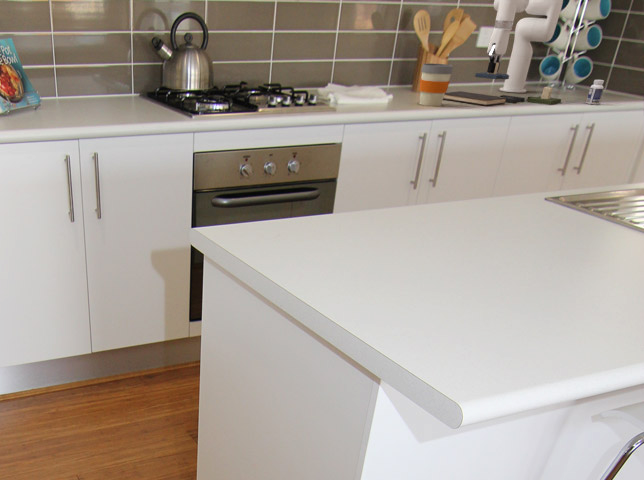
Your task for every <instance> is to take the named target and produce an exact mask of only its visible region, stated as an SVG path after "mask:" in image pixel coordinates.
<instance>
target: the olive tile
mask: <svg viewBox="0 0 644 480" xmlns="http://www.w3.org/2000/svg"><path fill="white" fill-rule="evenodd" d="M553 90H554V87H549V86H544V87H543V90H542V94H541V95H540V96H527V99H526V101H528V103H534V104H542V105H549V106H551V105H555V104H560V103H562V98H556V97H552V94H553Z"/></svg>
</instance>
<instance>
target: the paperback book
mask: <svg viewBox="0 0 644 480" xmlns="http://www.w3.org/2000/svg"><path fill="white" fill-rule="evenodd" d="M497 96H498V95H497ZM497 96H496V95H489V94H484V93H483V94H482V93H476V92H468V91H463V90H461V91H449V92H446V93H445V94H444V98H443V100H446V101H452V102H460V103H464V104H472V105H478V106H484V107H486V106H495V105H505V104H506V103H507V102H506V98H504V97H500V96H498V97H497Z"/></svg>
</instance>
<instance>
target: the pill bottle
mask: <svg viewBox="0 0 644 480" xmlns="http://www.w3.org/2000/svg"><path fill="white" fill-rule="evenodd" d="M604 82H605V80H603V79H594V80H593V84H591V86H590V87H589V90H588V94H587V96H586V97H587V98H586V101H585V104H587V105H596V106H597V105H599V104H600V101H601V98H602V95H603V91H604Z"/></svg>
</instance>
